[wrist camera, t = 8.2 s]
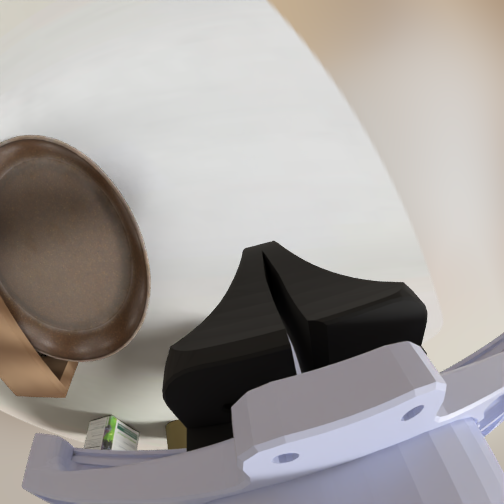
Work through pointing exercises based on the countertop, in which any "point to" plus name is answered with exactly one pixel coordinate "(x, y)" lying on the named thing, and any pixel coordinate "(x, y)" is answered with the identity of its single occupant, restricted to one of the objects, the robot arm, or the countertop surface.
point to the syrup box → (111, 435)
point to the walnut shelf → (30, 363)
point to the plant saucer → (68, 252)
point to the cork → (176, 435)
